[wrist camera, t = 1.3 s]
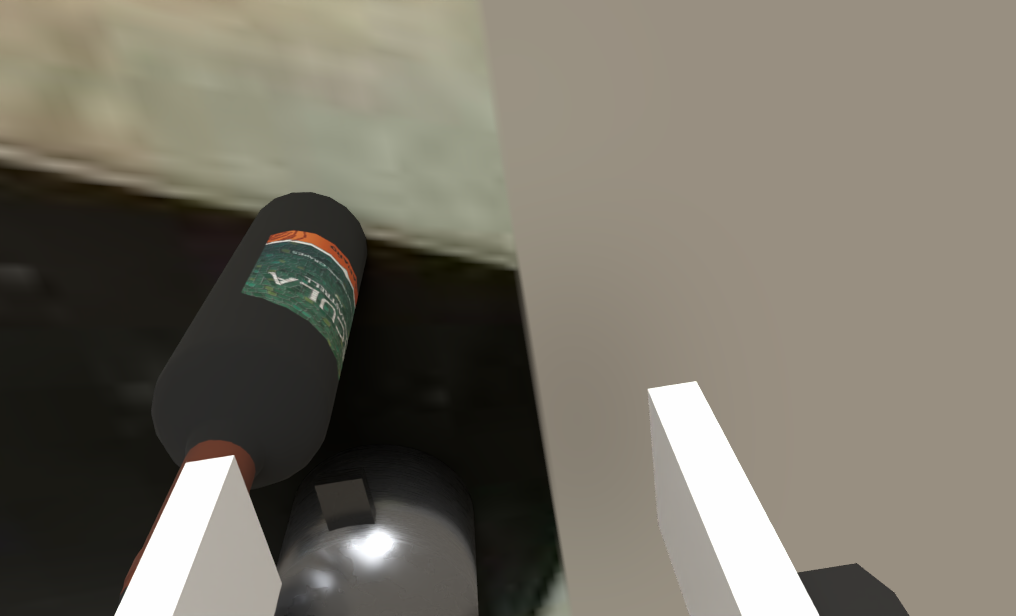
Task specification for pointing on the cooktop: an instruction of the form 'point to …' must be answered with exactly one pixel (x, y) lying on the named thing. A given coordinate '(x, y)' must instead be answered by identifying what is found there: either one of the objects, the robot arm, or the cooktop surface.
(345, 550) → the pot
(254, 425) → the wine bottle
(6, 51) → the cooktop surface
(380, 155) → the cooktop surface
